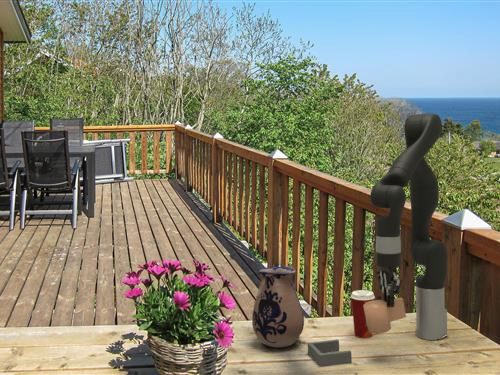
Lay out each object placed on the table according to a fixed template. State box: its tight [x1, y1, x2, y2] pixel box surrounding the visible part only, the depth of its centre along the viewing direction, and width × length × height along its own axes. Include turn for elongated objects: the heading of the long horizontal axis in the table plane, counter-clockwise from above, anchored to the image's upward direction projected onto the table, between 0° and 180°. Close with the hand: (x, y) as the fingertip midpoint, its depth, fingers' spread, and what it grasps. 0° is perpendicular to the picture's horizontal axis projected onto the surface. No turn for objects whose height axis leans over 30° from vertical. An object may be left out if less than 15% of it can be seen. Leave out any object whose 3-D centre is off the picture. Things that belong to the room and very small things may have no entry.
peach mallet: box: [363, 297, 407, 335], centre depth 181 cm, size 12×7×8 cm, turn 104°
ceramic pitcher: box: [251, 265, 305, 349], centre depth 200 cm, size 18×21×25 cm
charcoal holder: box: [307, 339, 353, 368], centre depth 185 cm, size 10×11×4 cm
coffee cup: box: [350, 289, 375, 339], centre depth 204 cm, size 8×8×15 cm
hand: (388, 305), depth 181 cm, fingers closed
